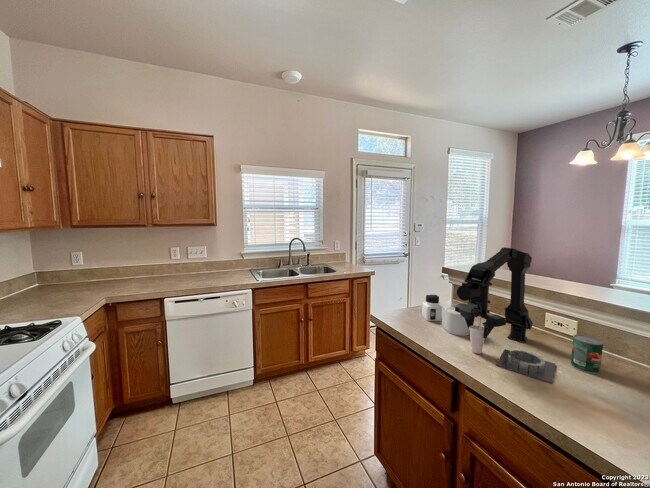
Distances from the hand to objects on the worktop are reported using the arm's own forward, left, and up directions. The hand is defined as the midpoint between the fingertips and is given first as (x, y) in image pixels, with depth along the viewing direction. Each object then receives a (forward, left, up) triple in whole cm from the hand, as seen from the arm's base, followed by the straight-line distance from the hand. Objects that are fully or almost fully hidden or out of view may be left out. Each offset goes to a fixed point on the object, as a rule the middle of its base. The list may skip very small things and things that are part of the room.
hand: (477, 334), depth 109 cm
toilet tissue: (-16, -13, -8) cm, 22 cm away
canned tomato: (-15, +32, -8) cm, 36 cm away
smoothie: (0, 0, -7) cm, 7 cm away
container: (-24, -28, -8) cm, 38 cm away
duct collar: (-2, +16, -7) cm, 18 cm away
